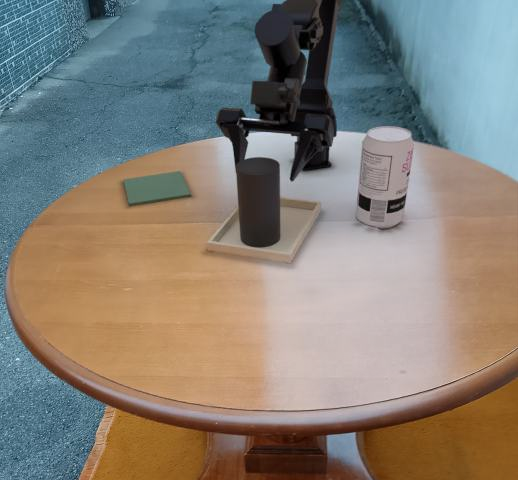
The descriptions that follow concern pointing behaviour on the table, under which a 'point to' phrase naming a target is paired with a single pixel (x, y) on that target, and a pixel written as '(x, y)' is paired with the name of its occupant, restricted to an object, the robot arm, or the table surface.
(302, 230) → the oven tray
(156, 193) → the plate
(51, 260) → the table surface
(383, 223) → the supplement can
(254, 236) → the dark grey cylinder
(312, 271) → the table surface
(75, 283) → the table surface
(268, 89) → the robot arm
